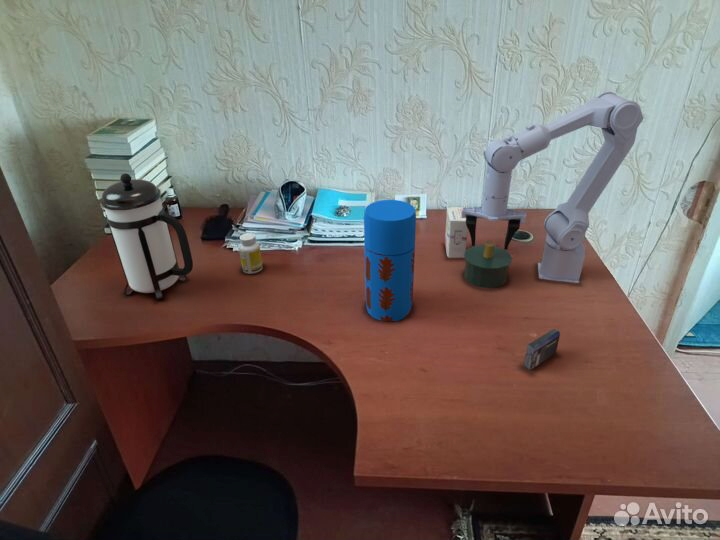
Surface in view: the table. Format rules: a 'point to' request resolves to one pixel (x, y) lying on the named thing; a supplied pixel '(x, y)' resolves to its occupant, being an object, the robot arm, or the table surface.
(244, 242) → the supplement bottle
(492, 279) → the tin
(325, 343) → the table surface
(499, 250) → the tin lid
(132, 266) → the coffee press
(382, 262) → the thermos
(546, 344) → the mini dv tape
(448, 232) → the ink cartridge box
